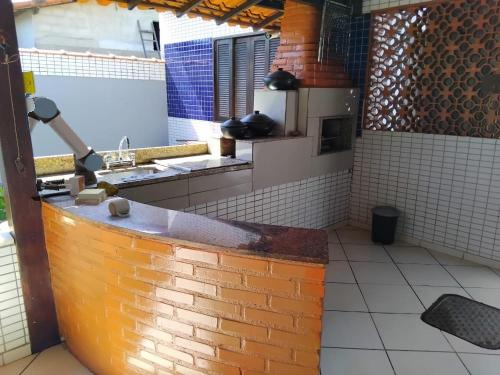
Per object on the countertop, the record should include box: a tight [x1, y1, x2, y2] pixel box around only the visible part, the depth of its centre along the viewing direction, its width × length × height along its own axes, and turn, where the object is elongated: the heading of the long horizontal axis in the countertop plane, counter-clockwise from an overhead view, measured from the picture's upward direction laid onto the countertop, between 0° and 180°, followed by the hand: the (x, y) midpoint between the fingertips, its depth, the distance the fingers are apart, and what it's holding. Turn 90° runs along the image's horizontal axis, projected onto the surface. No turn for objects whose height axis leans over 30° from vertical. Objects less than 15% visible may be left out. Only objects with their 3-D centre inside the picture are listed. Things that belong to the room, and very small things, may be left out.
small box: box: [68, 176, 86, 196], centre depth 219 cm, size 8×6×10 cm
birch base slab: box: [74, 194, 108, 205], centre depth 206 cm, size 13×13×3 cm
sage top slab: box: [77, 188, 106, 199], centre depth 205 cm, size 11×11×3 cm
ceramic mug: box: [108, 197, 131, 218], centre depth 180 cm, size 11×8×8 cm
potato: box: [96, 180, 119, 196], centre depth 219 cm, size 8×13×8 cm, turn 60°
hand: (74, 183), depth 217 cm, fingers open, 13 cm apart
